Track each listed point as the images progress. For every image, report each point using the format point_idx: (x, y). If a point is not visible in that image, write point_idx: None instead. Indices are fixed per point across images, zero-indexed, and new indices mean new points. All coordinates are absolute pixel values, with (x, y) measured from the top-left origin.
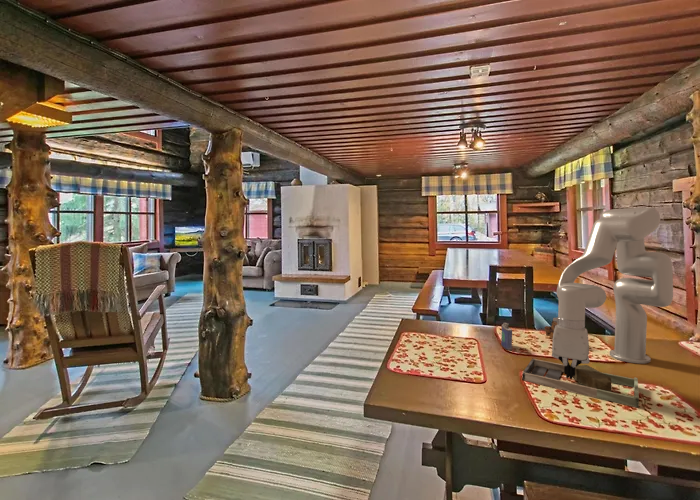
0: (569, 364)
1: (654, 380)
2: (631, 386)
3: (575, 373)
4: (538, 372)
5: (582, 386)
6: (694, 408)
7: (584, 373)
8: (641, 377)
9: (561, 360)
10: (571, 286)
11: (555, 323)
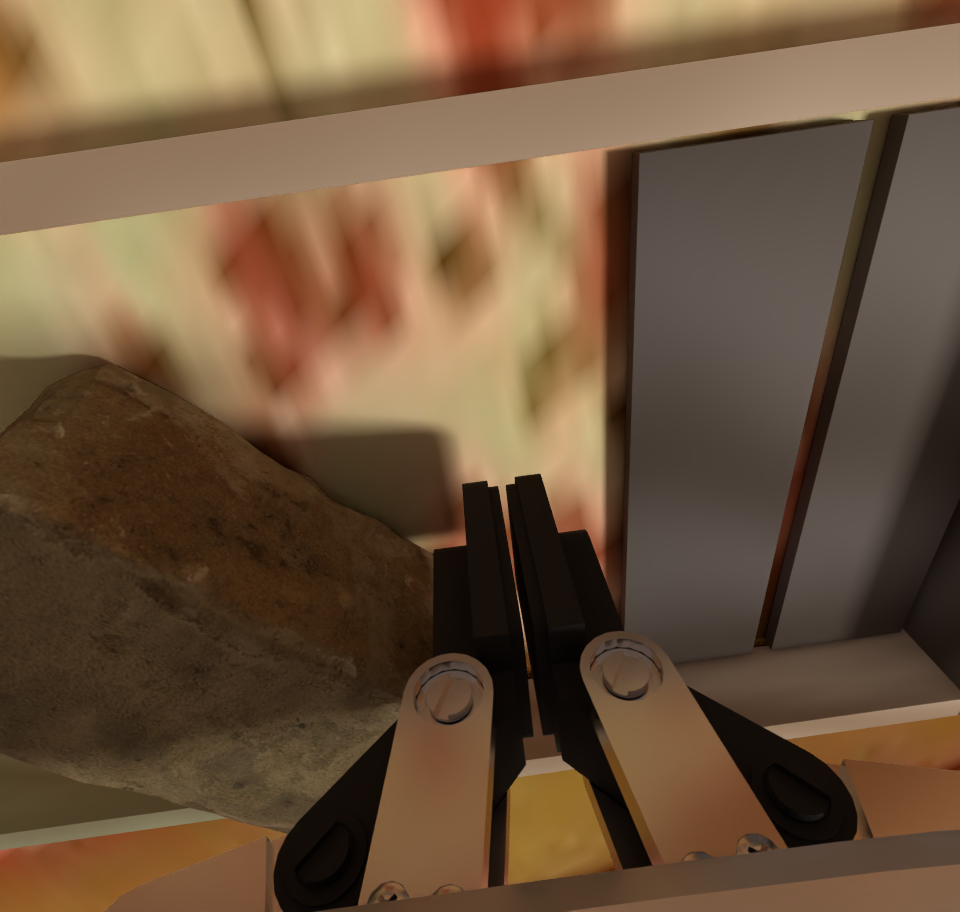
0: (555, 737)
1: (18, 905)
2: None
3: None
4: (886, 479)
5: (120, 147)
6: None
7: (258, 616)
8: (101, 898)
9: (738, 739)
10: None
11: None
